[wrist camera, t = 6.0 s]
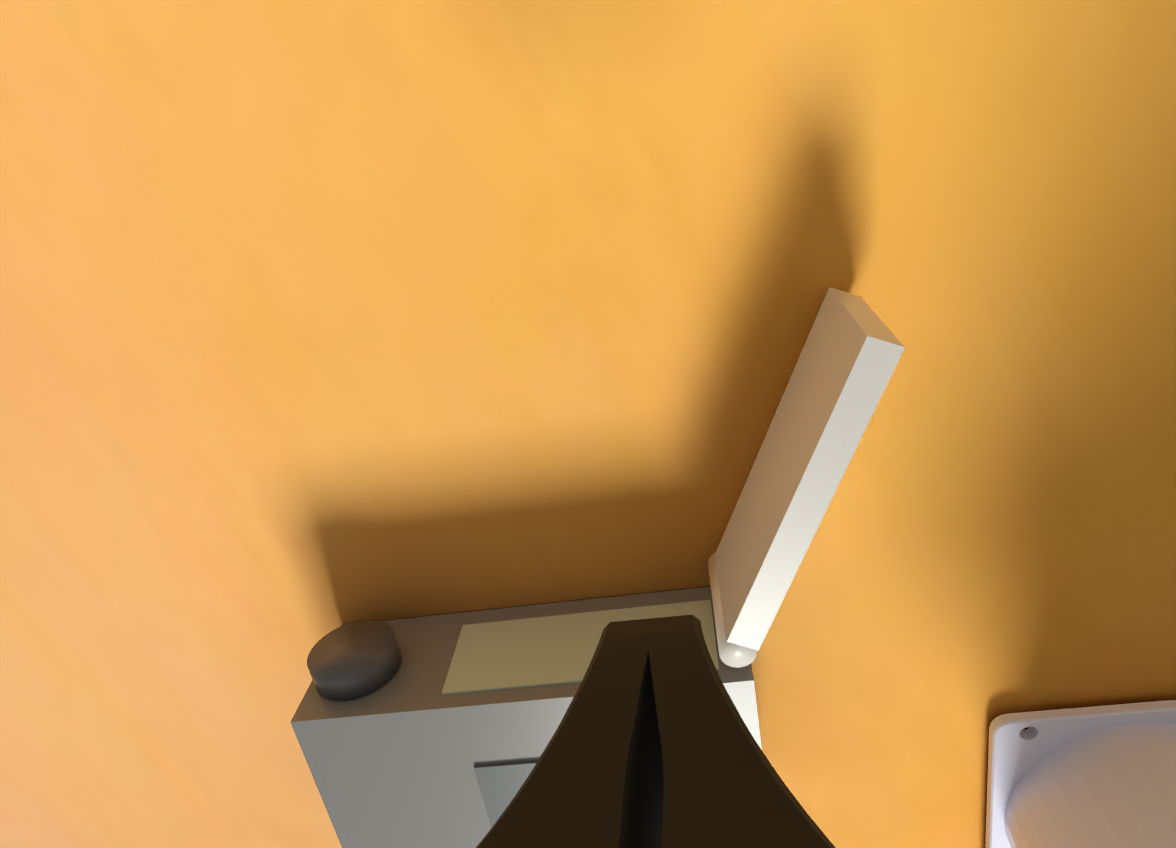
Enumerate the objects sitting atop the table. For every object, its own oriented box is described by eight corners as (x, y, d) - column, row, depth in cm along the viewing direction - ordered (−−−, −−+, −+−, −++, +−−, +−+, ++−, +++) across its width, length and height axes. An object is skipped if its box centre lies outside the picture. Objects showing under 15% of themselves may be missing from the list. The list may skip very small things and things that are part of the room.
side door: (746, 584, 24) (764, 678, 20) (703, 571, 24) (714, 664, 20) (876, 299, 20) (926, 354, 17) (825, 284, 20) (864, 334, 16)
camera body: (734, 560, 23) (751, 657, 20) (758, 763, 27) (776, 880, 23) (333, 603, 25) (279, 701, 21) (400, 791, 28) (363, 905, 24)
